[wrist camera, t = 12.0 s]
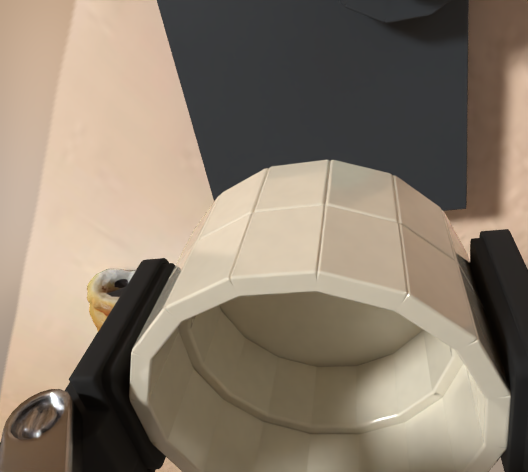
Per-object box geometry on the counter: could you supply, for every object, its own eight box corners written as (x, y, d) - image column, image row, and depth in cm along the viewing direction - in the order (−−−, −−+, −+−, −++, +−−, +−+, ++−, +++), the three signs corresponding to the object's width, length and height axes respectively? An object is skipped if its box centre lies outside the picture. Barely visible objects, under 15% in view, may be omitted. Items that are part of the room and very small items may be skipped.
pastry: (206, 364, 38) (191, 406, 34) (123, 359, 39) (102, 399, 36) (183, 263, 33) (163, 301, 29) (89, 261, 34) (60, 297, 31)
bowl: (161, 170, 12) (71, 288, 8) (464, 131, 10) (522, 256, 7) (229, 369, 15) (187, 516, 12) (463, 364, 14) (502, 533, 10)
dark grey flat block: (141, -110, 22) (107, -112, 19) (483, -203, 18) (506, -224, 15) (229, 213, 30) (215, 246, 27) (475, 190, 27) (489, 224, 24)
